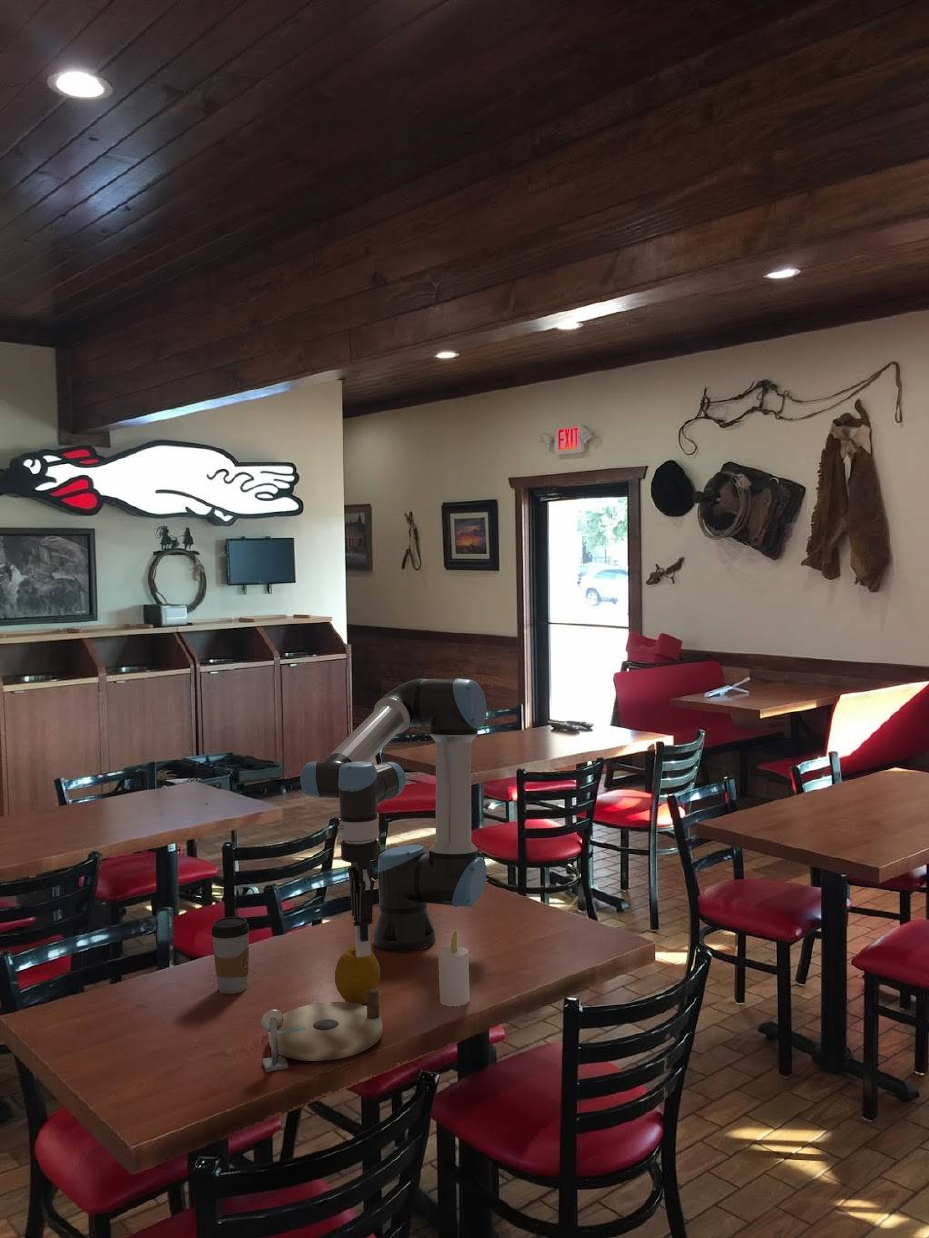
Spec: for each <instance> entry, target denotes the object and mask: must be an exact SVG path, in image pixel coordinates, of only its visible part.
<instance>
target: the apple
mask: <svg viewBox="0 0 929 1238" xmlns="http://www.w3.org/2000/svg"><path fill="white" fill-rule="evenodd" d="M370 952H371V955H370V956H364V957H357V956H356V947H351V948H348V949H347V950H346V951H344V952H343V953H342V954H341V956H340V957H339V959H338V961H337V963H336V967H335V971H334V983H335V987H336V990H337V991H338V993H339V995H340V996H341V998H342V999H343V1001H345V1002H349V1003H356V1004H361V1005H365V1004H367V1001H366V991H368V990H371V989H375V990H377V987H378V985H379V982H380V979H381V978H380V977H381V966H380V964H379V963H380V962H379V961H378V959H377V957H376V956H375V955H374V953H373V951H370Z"/></svg>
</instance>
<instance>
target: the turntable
mask: <svg viewBox="0 0 929 1238" xmlns="http://www.w3.org/2000/svg"><path fill="white" fill-rule="evenodd" d="M379 999H380V997H379V990H378V989H376V990H375V989H371V990H368V991H366V1001H367V1002H366V1005H365V1004H362V1005H361V1004H356V1003H349V1002H346V1001H345V1002H344V1001H329V1002H328V1001H327V1002H318V1003H312V1004H308V1005H304V1006H299V1007H297V1008H294V1009H291V1010H288V1011H287V1012H285V1013H282V1015H283V1018H284V1022H283V1025H282V1027H281V1028H280V1029H279V1030H278V1031H277V1038H278V1055H279V1056H281V1055H282V1056H285V1058H289V1059H292V1060H298V1061H307V1062H319V1061H320V1062H321V1061H332V1060H339V1059H343V1058H344V1059H345V1058H347V1057H351V1056H354V1055H356V1054H360V1053H362V1052H364V1051H366V1050H368V1049H370V1048H371V1047H373V1046H374V1045H376V1043H378V1042H379V1041H380V1039H381V1038H382V1035H383V1033H384V1030H383V1029H384V1028H383V1018H382V1016H381V1014H380V1001H379ZM268 1044H269V1046H270V1048H271V1032H268Z"/></svg>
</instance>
